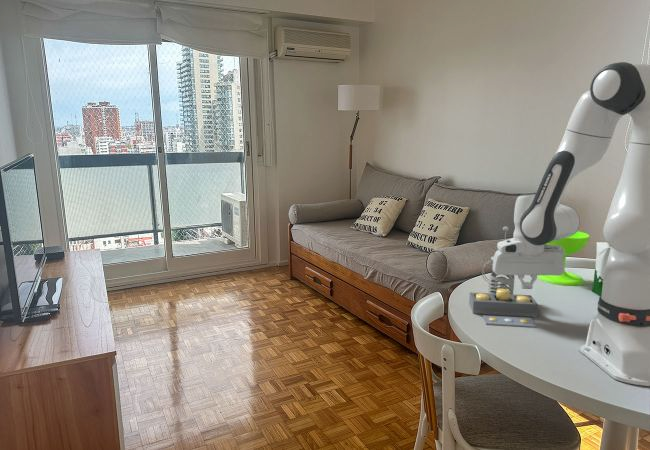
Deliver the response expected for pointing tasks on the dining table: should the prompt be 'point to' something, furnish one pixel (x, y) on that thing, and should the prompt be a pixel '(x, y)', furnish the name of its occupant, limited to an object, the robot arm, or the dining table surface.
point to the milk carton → (600, 266)
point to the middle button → (502, 295)
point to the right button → (522, 299)
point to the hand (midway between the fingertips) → (526, 288)
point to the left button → (482, 297)
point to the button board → (505, 310)
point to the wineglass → (570, 247)
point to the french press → (499, 278)
